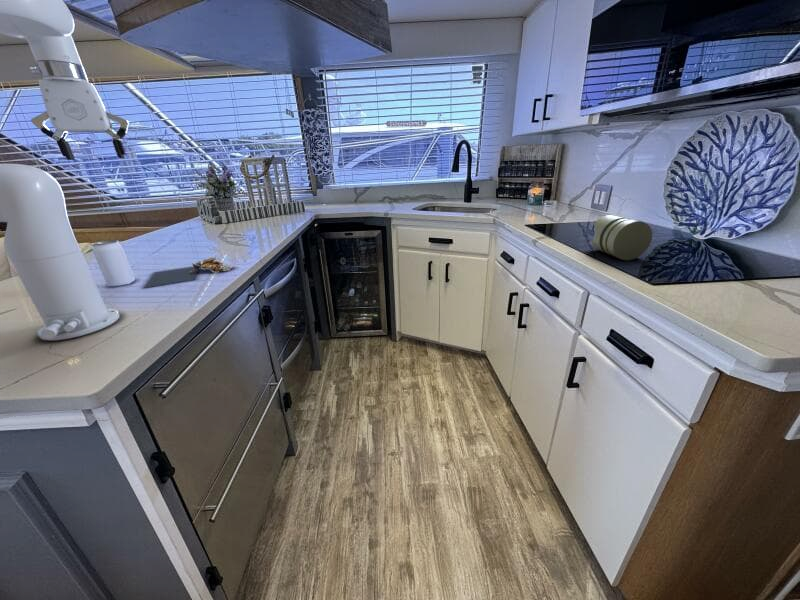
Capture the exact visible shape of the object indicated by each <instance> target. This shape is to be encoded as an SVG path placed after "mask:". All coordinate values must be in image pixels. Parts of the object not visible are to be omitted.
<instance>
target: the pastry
mask: <svg viewBox="0 0 800 600" xmlns="http://www.w3.org/2000/svg"><path fill="white" fill-rule="evenodd" d="M217 259H218V258H217V257H216V256H215V257H209V258H204V259H199V261H197V262H196V263H194V262H193V263H191V264H192V267H194V268H195V270H196V271H190V273H195V274H196V275H197V273H199V272H198V270H199V269H201V270H203V271H206V270H210V271H211V272H212V273H215V274H218V273H220V272H226V271H230V270H232V269H234V266H232V265H229V264H227V263H224V262H221V261H217Z"/></svg>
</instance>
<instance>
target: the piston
mask: <svg viewBox="0 0 800 600" xmlns="http://www.w3.org/2000/svg"><path fill="white" fill-rule="evenodd" d="M592 226H594V233H593V238H592V241H590V242H588V243H589V245H590V246H591V248H593V249H595V250H597V251H599V252H602V253H605V254H607V255H610V256H612V257H615V258H617V259H619V260H623V261H632V260H636V259H637V258H639V257H640V256H642V255H643V254H644V253H645V252H646V251H647V250H648V249H649V247H650V245H651V243H652V240H653V230H652V228H651V226H650V224H648V223H646V222H645V221H641V220H636V219H631V218H627V217H623V216H618V215H613V214H607V215H604V216H601V217H599V218H597V220H595V221H594V223H593V224H592Z"/></svg>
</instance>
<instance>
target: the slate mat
mask: <svg viewBox="0 0 800 600" xmlns="http://www.w3.org/2000/svg"><path fill="white" fill-rule="evenodd" d="M190 271H196V270H195V268H194V266H189V267H181V268H176V269H169V270H162V271H155V272H154V273H153V274H152V276H151V278H149V280H148V282H147V283H146V284H145V286H144V287H143V288H144V289H148V288H154V287H159V286H166V285H171V284H173V285H174V284H177V283H178V284H179V283H184V282H190V281H195V278H196V275H197V273H196V274H195V273H190Z"/></svg>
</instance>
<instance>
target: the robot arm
mask: <svg viewBox="0 0 800 600" xmlns="http://www.w3.org/2000/svg"><path fill="white" fill-rule="evenodd" d="M74 30H75V21H74V17H73V14H72V12H71V11H70V9H69V7H68V6H67V4H66V3H65V1H64V0H0V34H1V35H5V36H8V37H13V38H19V39H23V40H26V42H27V43H28V46H29V48H30V50H31V53H32V55H33V58H34V61H35V66H29V71H30V72H31V74H32V75H34V76H38V77H40V78H42V79H38V85H39V91H40V95H41V97H42V101H43V105H44V107H45V111H44V112H42V113H40V114H38V115H36V116H35V117H32V118H31V119H30V122H31V123H32V124H33V125H34V126H35V127H36V128H37V129H38V130H40V131H41V133H42V134H44V135H46V136H47V137H49V138H51V139H52V140H53V141H56V144H57V146H58V148H59V150H60V153H61V155H62V157H65V158H66V160H68V161H74V160H76V158H75V155H74V153H73V150H72V148H71V145H70V143H69V142H68V141H67V140H66V137H67V136H68V134H69V133H106V134H107V135H109V137H111V138H112V140H111V141H112V145H113V147H114V150H115V153H116V156H117V158H119V159H125V156H126V155H127V154H126V153H127V152H126V150H125V147H124V145H123V142H122V141H123V139H124V138H125V136H126V135H127V134H128V128H129V124H130V122H129V121H128V120H127V119H125V118H122V117H120V116H118V115H115V114H112V113H110V112H108V111H107V109H106V107H105V105H104V103H103V100H102V98H101V97H100V95H99V93H98V90H97V89H96V87H95V86H94V84H93V83H92V82H89V79H88V77H87V74H86V71H85V68H84V65H83V63H82V60H81V58H80V55H79V52H78V49H77V47H76V44H75V41H74V38H73V36H72V34H73V33H74ZM48 121H50V124H51V125H52V127H53V129H55V131H53V130H51V129H50V128H48V127H47V125H45V123H46V122H48ZM111 121H114V122H117V123H119V129H118V130H117V132H116V131H115V130H114V129H113V125H112V122H111ZM0 223H6V229H5V233H4V236H3V247H4V250H5V253H6V255H7V257H8V259H9V261H10V262H11V264H12V266H13V268H14V270H15V271H16V273H17V275H18V277H19V279H20V280H21V283H22V284H23V286H24V288H25V290H26V292H27V293H28V295H29V297H30V299H31V301H32V303H33V305H34V306H35V308H36V311H37V312H38V314H39V316H40V318H41V319H42V321H43V323H44V325H43V326H42V327H41V328H39V329H38V330H37V336H38V338H39V339H40V340H43V341H51V342H52V341H61V340H70V339H73V338H78V337H81V336H82V337H83V336H85V335H89V334H93V333H94V332H98V331H100V330H102V329H104V328H105V329H106V328H107V327H109V326H111V325H113V324H115V323H116V322H117V321H118V320H119V319H120V316H121V315H120V312H119V311H118V310H117V309H114V308H107V306H106V304H105V302H104V299H103V297H102V295H101V293H100V291H99V288H98V286H97V284H96V281H95V279H94V277H93V274H92V272H91V270H90V267H89V265H88V263H87V261H86V259H85V257H84V254H83V252H82V250H81V248H80V245H79V243H78V240H77V238H76V236H75V234H74V230H73V229H72V226H71V222H70V220H69V216H68V211H67V206H66V200H65V195H64V192H63V189H62V187H61V185H60V183H59V182H58V181H57V180H56V179H55V178H54V176H52V175H51V174H50V173H49V172H47V171H45V170H43V169H41V168H39V167H36V166H32V165H28V164H21V163H0Z"/></svg>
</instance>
